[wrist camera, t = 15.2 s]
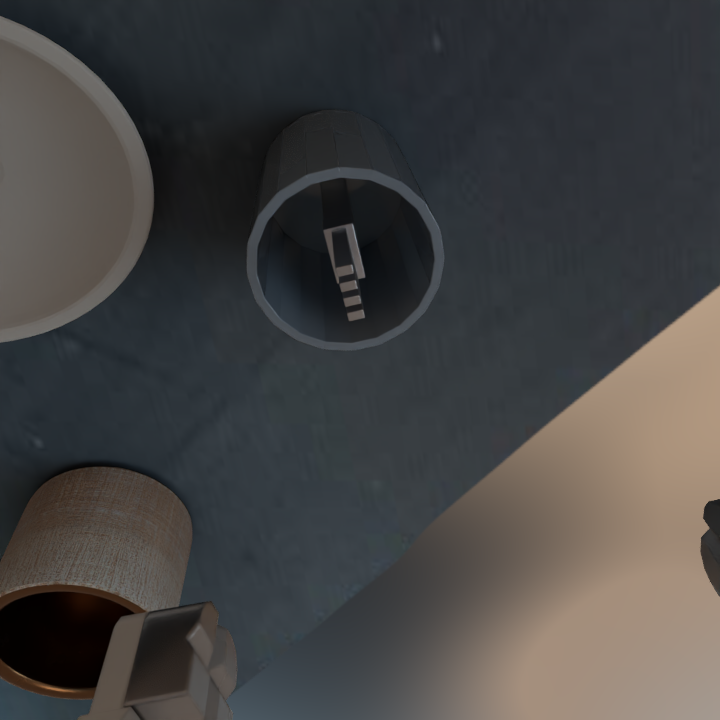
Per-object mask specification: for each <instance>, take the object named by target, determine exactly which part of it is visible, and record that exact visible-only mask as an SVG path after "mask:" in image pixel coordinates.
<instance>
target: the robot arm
mask: <svg viewBox="0 0 720 720" xmlns="http://www.w3.org/2000/svg"><path fill="white" fill-rule="evenodd" d="M703 519H704V520H705V522H706V523H707V524H708V526H709V528H710V529H709V530H708V531H707V532H706V533H705V534H704V535H703V536H702V537H701V556H702V560H703V564H704V569H705V571H706V573H707V575H708V578H709V580H710V582H711V583H712V585H713V587H714V589H715V590H716V592H717V594H718V595H719V596H720V499H718V500H714V501H709V502H708V503H707V504H706V506H705V508H704V516H703ZM218 614H219V613H218V611H217V610H216V608H215V606H214V605H213V603H212V601H209V602H202V603H196V604H190V605H184V606H178V607H172V608H166V609H160V610H155V611H149V612H144V613H138V614H133V615H128V616H122V617H121V618H120V619H119V620H118V622H117V623H116V625H115V626H114V629H113V632H112V636H111V639H110V643H109V646H108V650H107V653H106V657H105V660H104V663H103V667H102V670H101V674H100V677H99V681H98V684H97V687H96V691H95V694H94V698H93V701H92V705H91V708H90V711H89V714H87V715H83V716H80V717H79V718H78V719H77V720H232V717H233V713H232V711H231V710H230V708H229V706H228V704H227V703H226V700H227V698H228V697H229V695H230V694H231V693H232V691H233V690H234V688H235V687H236V677H237V662H236V650H235V647H234V643H233V640H232V637H231V635H230V633H229V631H228V630H227V629H226V628H224V627H222V626H220V625H218V624H217V622H218Z"/></svg>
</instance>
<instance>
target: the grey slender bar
mask: <svg viewBox="0 0 720 720" xmlns="http://www.w3.org/2000/svg"><path fill="white" fill-rule="evenodd" d="M320 184H321V196H322V208H323V220H324V221H323V222H322V224H323V232H324V236H325V240H326V244H327V248H328V252H329V255H330V259H331V263H332V267H333V271H334V274H335V278H336V282H337V284H339V285H340V289H341V292H342V294H343V300H344V304H345V307H346V310H347V316H348V320H349V321H353V320H357V319H362V318H365V314H364V309H363V303H362V297H361V292H360V286H359V280H358V279H361V278H365V271H364V266H363V262H362V257H361V252H360V247H359V242H358V237H357V232H356V227H355V222H354V217H353V212H352V207H351V202H350V197H349V193H348V189H347V184H346V180H345V178H337V179H332V180H328V181H324V182H320Z"/></svg>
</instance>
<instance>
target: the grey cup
mask: <svg viewBox="0 0 720 720" xmlns="http://www.w3.org/2000/svg"><path fill="white" fill-rule="evenodd" d="M337 178H345V180H346V184H347V189H348V193H349V197H350V202H351V207H352V212H353V217H354V222H355V227H356V232H357V237H358V242H359V247H360V252H361V257H362V262H363V266H364V271H365V278H361V279H358V280H359V286H360V292H361V297H362V303H363V309H364V314H365V318H362V319H357V320H353V321H349V320H348V316H347V310H346V307H345V304H344V300H343V294H342V292H341V289H340V285H339V284H337V282H336V278H335V274H334V271H333V267H332V263H331V259H330V255H329V252H328V248H327V244H326V240H325V236H324V232H323V224H322V222H323V221H324V220H323V208H322V196H321V184H320V182H324V181H328V180H332V179H337ZM444 260H445V259H444V250H443V244H442V237H441V231H440V228H439V226H438V224H437V222H436V220H435V218H434V216H433V214H432V212H431V210H430V208H429V206H428V204H427V202H426V200H425V198H424V196H423V194H422V192H421V190H420V188H419V186H418V184H417V182H416V180H415V178H414V176H413V174H412V172H411V170H410V168H409V165H408V163H407V161H406V160H405V158H404V156H403V154H402V152H401V150H400V148H399V147H398V145H397V143H396V141H395V140H394V139H393V138H392V136H391V135H390V134H389V133H388V132H387V131H386V130H385V129H384V128H383V127H382V126H380V125H379V124H378V123H376V122H375V121H373V120H371V119H370V118H368V117H366V116H363V115H361V114H358V113H355V112H351V111H346V110H323V111H317V112H314V113H311V114H307V115H305V116H303V117H301V118H299V119H297V120H295V121H294V122H292V123H291V124H289V125H288V126H287V127H286V128H285V129H284V130H282V131H281V132H280V134H279V135H278V136H277V137H276V138H275V139H274V141H273V143H272V144H271V146H270V147H269V149H268V151H267V153H266V155H265V158H264V161H263V164H262V168H261V171H260V175H259V180H258V186H257V192H256V197H255V203H254V208H253V214H252V219H251V225H250V230H249V236H248V242H247V260H246V273H247V278H248V281H249V284H250V287H251V290H252V292H253V295H254V298H255V301H256V303H257V304H258V305H259V307H260V308H261V309H262V310H263V312H264V313H265V314H266V316H267V317H268V318H269V320H270V321H271V322H272V323H273V324H274V325H275V326H276V327H278V328H279V329H281V330H282V331H284V332H285V333H286V334H288V335H289V336H291V337H292V338H294V339H295V340H297V341H300V342H303V343H305V344H308V345H311V346H314V347H317V348H320V349H324V350H344V351H354V350H358V349H363V348H367V347H372V346H376V345H380V344H382V343H384V342H386V341H388V340H390V339H392V338H394V337H395V336H397V335H399V334H401V333H403V332H405V331H406V330H407V329H408V328H409V327H410V326H411V325H412V324H413V323H414V322H415V321H416V320H417V319H418V318H419V317H420V316H421V315H423V314H424V313H425V311H426V310H427V308H428V306H429V305H430V303H431V301H432V299H433V297H434V295H435V294H436V292H437V290H438V288H439V286H440V281H441V276H442V270H443V265H444Z"/></svg>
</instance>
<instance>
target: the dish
mask: <svg viewBox="0 0 720 720" xmlns="http://www.w3.org/2000/svg"><path fill="white" fill-rule="evenodd" d="M153 210H154V186H153V176H152V171H151V167H150V162H149V158H148V155H147V152H146V150H145V147H144V144H143V141H142V139H141V137H140V135H139V133H138V131H137V128H136V126H135V124H134V123H133V121H132V119H131V118H130V116H129V115H128V113H127V111H126V110H125V108H124V107H123V105H122V104H121V103H120V101H119V100H118V99H117V97H116V96H115V95H114V93H113V92H112V91H111V90H110V89H109V88H108V87H107V86H106V85H105V83H104V82H103V81H102V80H101V79H100V78H99V77H98V76H97V75H96V74H95V73H94V72H92V71H91V70H90V69H89V68H88V67H87V66H86V65H85V64H84V63H82V62H81V61H80V60H79V59H77V58H76V57H75V56H73V55H72V54H71V53H69V52H68V51H67V50H65V49H64V48H62V47H61V46H59V45H58V44H56V43H54V42H53V41H51V40H49V39H48V38H46V37H45V36H43V35H41V34H39V33H37V32H35V31H33V30H31V29H29V28H27V27H25V26H23V25H21V24H19V23H16V22H14V21H11V20H9V19H6V18H4V17H2V16H0V342H7V341H13V340H18V339H22V338H27V337H31V336H34V335H38V334H41V333H44V332H47V331H50V330H52V329H55V328H58V327H60V326H62V325H64V324H66V323H69V322H71V321H73V320H75V319H77V318H78V317H80V316H82V315H83V314H85V313H87V312H88V311H90V310H91V309H93V308H94V307H95V306H97V305H98V304H99V303H101V302H102V301H104V300H105V299H106V298H107V297H108V296H109V295H110V294H111V293H112V292H113V291H115V290H116V288H117V287H118V286H119V285H120V284H121V283H122V282H123V281H124V280H125V278H126V277H127V276H128V274H129V273H130V271H131V270H132V269H133V267H134V266H135V264H136V262H137V260H138V259H139V257H140V255H141V253H142V251H143V248H144V246H145V243H146V241H147V239H148V235H149V231H150V227H151V224H152V217H153Z"/></svg>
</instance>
